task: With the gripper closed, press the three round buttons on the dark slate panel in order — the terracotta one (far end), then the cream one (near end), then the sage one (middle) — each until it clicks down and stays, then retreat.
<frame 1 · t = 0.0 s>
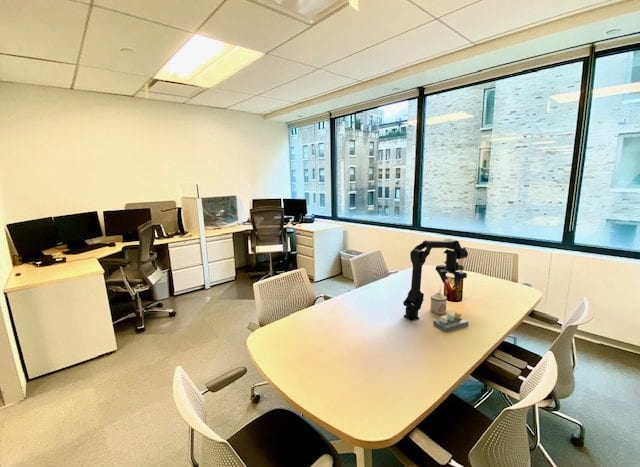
hand: (449, 285, 178), 15 cm above the table, fingers open, 9 cm apart
terracotta button: (457, 316, 162), point 4 cm above the table, slide at 0.0 cm
teacup with lid: (439, 310, 178), on the table
panel: (450, 324, 161), on the table
cream button: (443, 320, 158), point 4 cm above the table, slide at 0.0 cm
sage button: (450, 318, 160), point 4 cm above the table, slide at 0.0 cm
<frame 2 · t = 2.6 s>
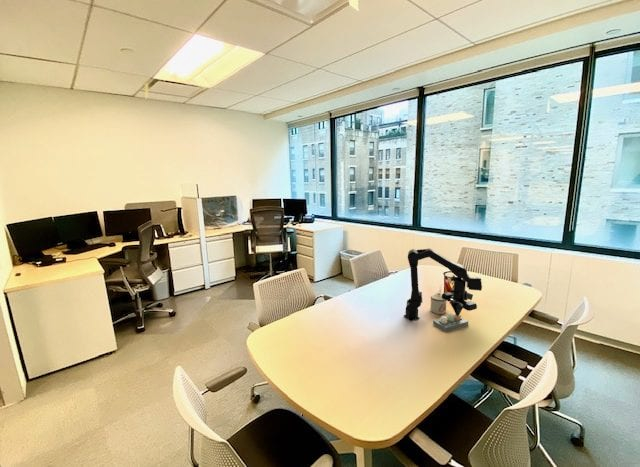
hand: (457, 315, 162), 4 cm above the table, fingers closed, pressing on terracotta button
terracotta button: (457, 318, 162), point 3 cm above the table, slide at 1.2 cm, touching gripper
everything else where it was.
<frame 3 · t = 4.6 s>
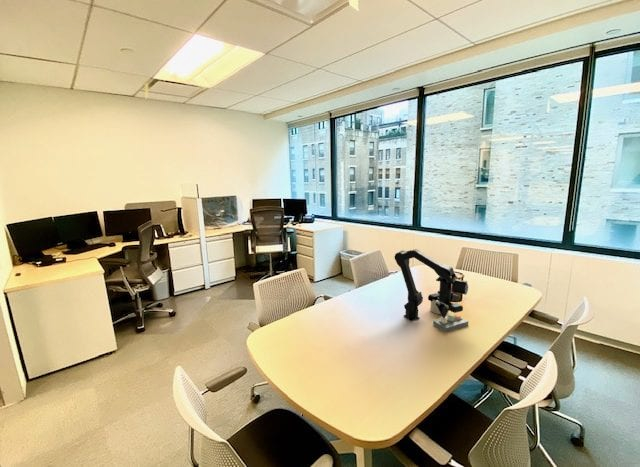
hand: (443, 317, 158), 5 cm above the table, fingers closed, pressing on cream button
terracotta button: (457, 319, 162), point 2 cm above the table, slide at 1.5 cm
cream button: (443, 320, 158), point 4 cm above the table, slide at 0.1 cm, touching gripper
everything else where it was.
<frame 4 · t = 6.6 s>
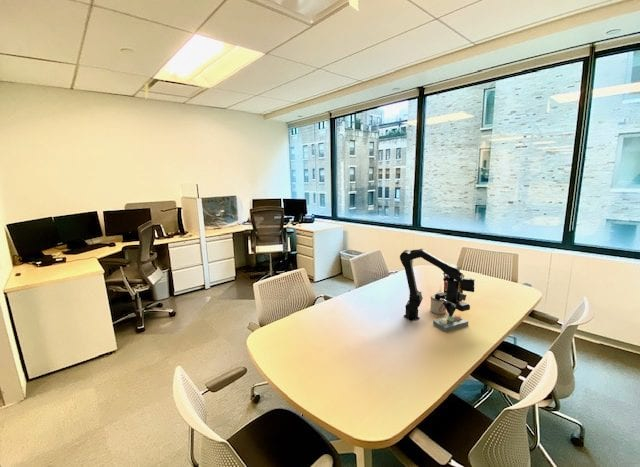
hand: (450, 316, 160), 5 cm above the table, fingers closed, pressing on sage button
cream button: (443, 323, 158), point 2 cm above the table, slide at 1.6 cm
sage button: (450, 319, 160), point 3 cm above the table, slide at 0.5 cm, touching gripper
everything else where it was.
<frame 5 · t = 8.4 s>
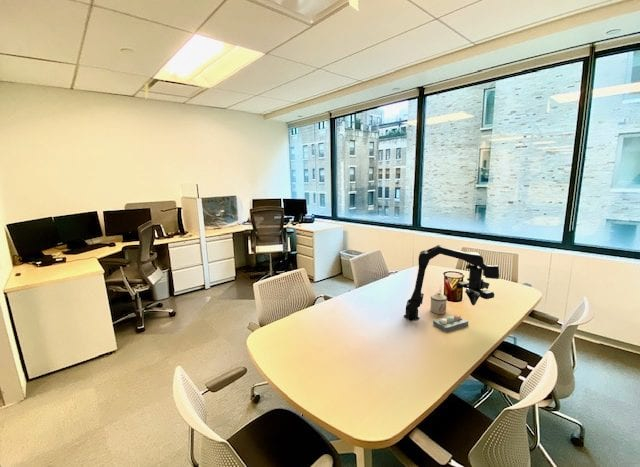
hand: (473, 305, 156), 12 cm above the table, fingers closed
sage button: (450, 321, 160), point 2 cm above the table, slide at 1.5 cm
everything else where it was.
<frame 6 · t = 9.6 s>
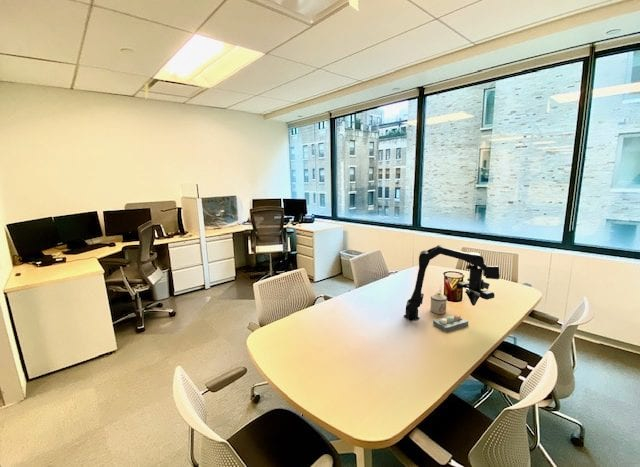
hand: (473, 305, 156), 12 cm above the table, fingers closed
nothing on the table moved.
at the end: terracotta button slide at 1.5 cm; cream button slide at 1.6 cm; sage button slide at 1.5 cm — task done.
